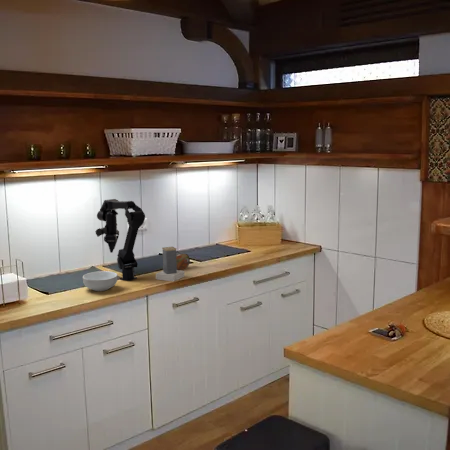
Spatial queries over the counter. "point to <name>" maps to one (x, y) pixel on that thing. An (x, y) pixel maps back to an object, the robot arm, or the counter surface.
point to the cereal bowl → (100, 280)
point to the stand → (170, 276)
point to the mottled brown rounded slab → (182, 261)
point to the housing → (169, 260)
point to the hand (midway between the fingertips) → (112, 250)
